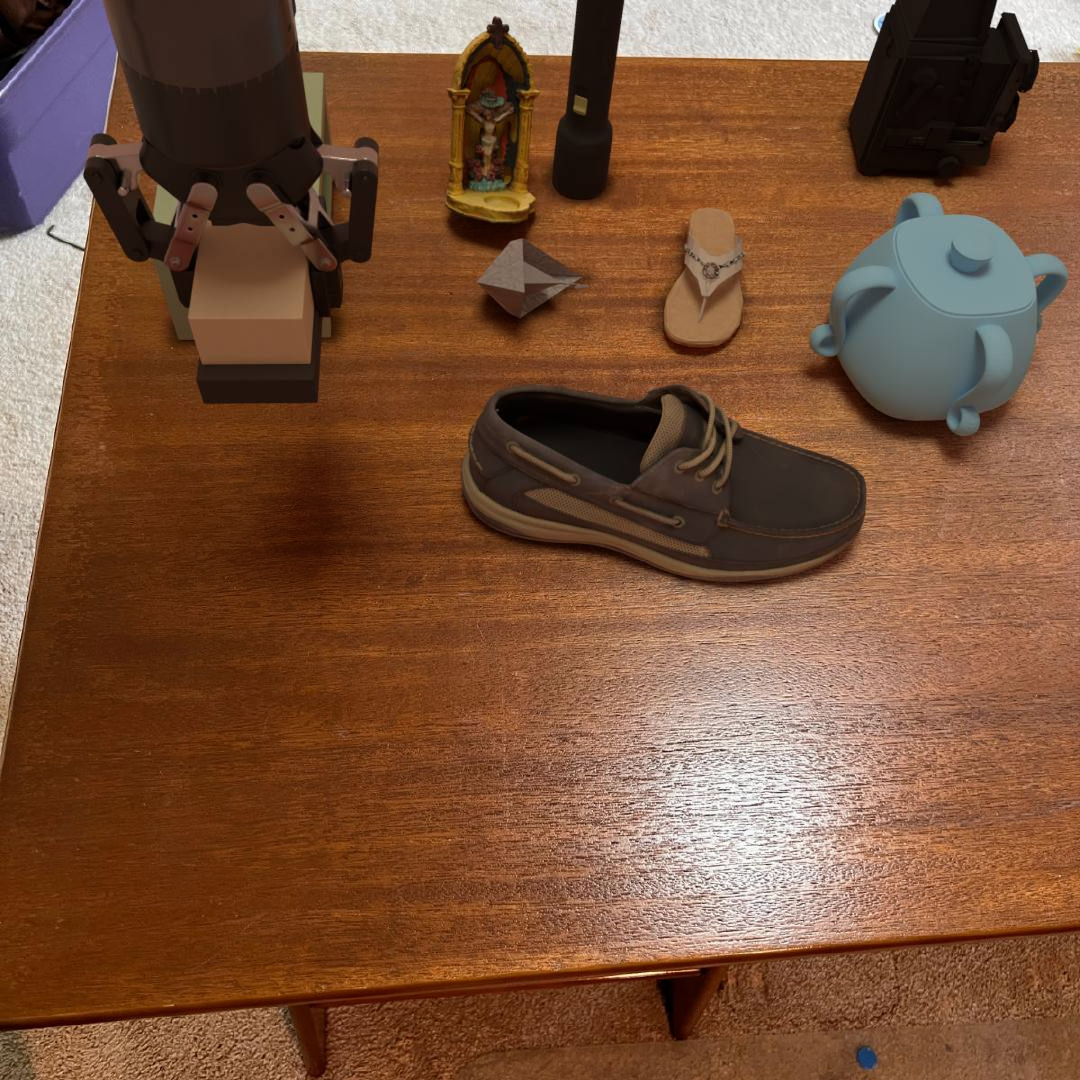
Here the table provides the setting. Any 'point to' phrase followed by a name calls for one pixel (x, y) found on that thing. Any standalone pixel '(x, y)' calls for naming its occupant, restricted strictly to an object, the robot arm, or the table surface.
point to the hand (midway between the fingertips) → (265, 305)
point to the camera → (940, 86)
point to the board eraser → (254, 317)
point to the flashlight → (588, 102)
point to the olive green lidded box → (322, 186)
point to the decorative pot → (939, 316)
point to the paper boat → (525, 278)
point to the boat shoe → (658, 482)
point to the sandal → (707, 283)
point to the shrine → (491, 129)
